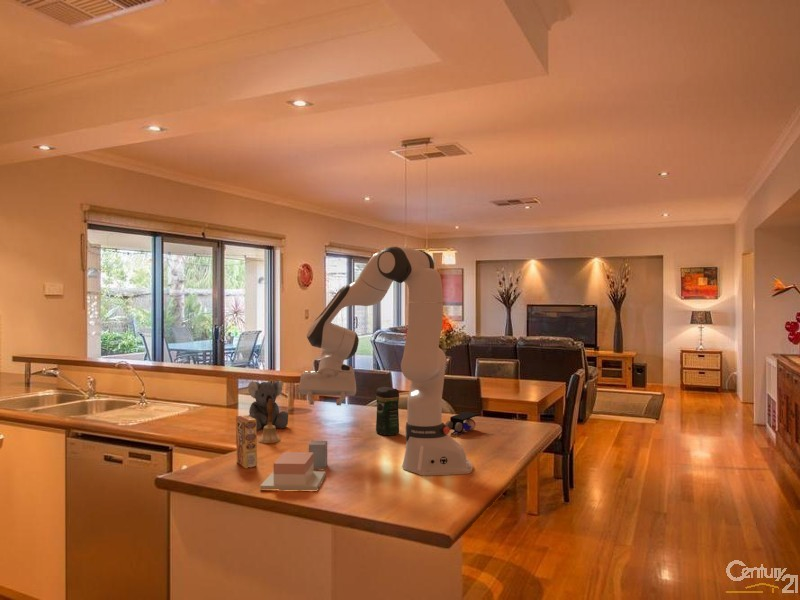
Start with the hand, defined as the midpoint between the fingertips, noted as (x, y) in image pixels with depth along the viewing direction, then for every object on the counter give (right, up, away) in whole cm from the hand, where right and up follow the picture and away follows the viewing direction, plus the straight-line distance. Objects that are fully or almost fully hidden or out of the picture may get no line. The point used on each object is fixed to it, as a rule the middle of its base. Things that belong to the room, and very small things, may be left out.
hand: (324, 404), depth 197 cm
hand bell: (-24, -18, +21) cm, 36 cm away
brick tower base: (-5, -18, -29) cm, 35 cm away
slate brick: (0, -18, -13) cm, 22 cm away
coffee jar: (+21, -18, +33) cm, 43 cm away
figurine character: (+51, -18, +34) cm, 64 cm away
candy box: (-24, -18, -10) cm, 32 cm away
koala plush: (-32, -18, +46) cm, 59 cm away
